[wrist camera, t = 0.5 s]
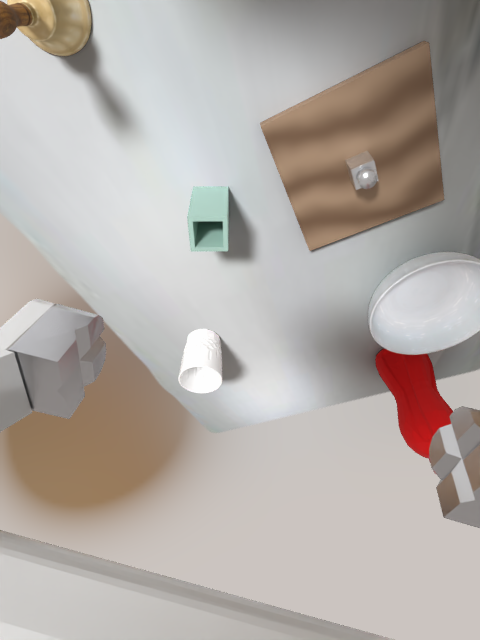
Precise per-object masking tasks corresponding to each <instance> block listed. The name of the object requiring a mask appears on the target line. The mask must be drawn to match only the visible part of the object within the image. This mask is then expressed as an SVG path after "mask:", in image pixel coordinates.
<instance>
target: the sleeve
mask: <svg viewBox="0 0 480 640" xmlns="http://www.w3.org/2000/svg"><path fill="white" fill-rule="evenodd" d="M187 219H188V229H189V238H190V248H191V251H228V238H229V194H228V187H193V191H192V196H191V201H190V206H189V211H188V216H187Z"/></svg>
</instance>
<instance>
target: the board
mask: <svg viewBox="0 0 480 640" xmlns="http://www.w3.org/2000/svg"><path fill="white" fill-rule="evenodd" d="M260 125H261V128H262V131H263V133H264V136H265V139H266V141H267V144H268V146H269V149H270V151H271V154H272V156H273V159H274V161H275V164H276V167H277V169H278V172H279V174H280V177H281V179H282V182H283V184H284V187H285V189H286V192H287V194H288V197H289V200H290V202H291V205H292V207H293V210H294V212H295V215H296V217H297V220H298V222H299V225H300V228H301V230H302V233H303V235H304V238H305V240H306V243H307V245H308V248H309V250H310V251H311V250H314V249H316V248H319V247H322V246H324V245H327V244H330V243H332V242H335V241H337V240H340V239H343V238H345V237H348V236H351V235H353V234H356V233H358V232H361V231H364V230H366V229H369V228H372V227H374V226H377V225H379V224H382V223H385V222H387V221H390V220H393V219H395V218H398V217H400V216H403V215H406V214H408V213H411V212H414V211H416V210H419V209H421V208H424V207H427V206H429V205H432V204H435V203H437V202H440V201H442V200H444V193H443V182H442V172H441V161H440V151H439V140H438V130H437V119H436V109H435V99H434V88H433V78H432V67H431V57H430V46H429V42H426V41H423V42H421V43H419V44H417V45H415V46H413V47H411V48H409V49H407V50H405V51H403V52H401V53H399V54H397V55H395V56H393V57H391V58H389V59H387V60H385V61H383V62H381V63H379V64H377V65H375V66H373V67H371V68H369V69H367V70H365V71H363V72H361V73H359V74H357V75H355V76H353V77H351V78H349V79H347V80H345V81H343V82H341V83H339V84H337V85H335V86H333V87H331V88H329V89H327V90H325V91H323V92H321V93H319V94H317V95H315V96H313V97H311V98H309V99H307V100H305V101H303V102H301V103H299V104H297V105H295V106H293V107H291V108H289V109H287V110H285V111H283V112H281V113H279V114H277V115H275V116H273V117H271V118H269V119H267V120H265V121H263V122H261V123H260ZM365 151H368V152H369V154H370V155H371V156H372V158H373V159H374V161H375V166H376V171H377V175H378V180H379V181H377V182H376V184H375V185H374V186H373V187H372V188H370V189H363V188H360V189H358V190H356V189H355V187H354V185H353V183H352V182H351V180H350V176H349V172H348V168H347V165H346V161H345V160H347V159H349V158H352V157H354V156H356V155H358V154H361V153H363V152H365Z"/></svg>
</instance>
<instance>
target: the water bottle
mask: <svg viewBox="0 0 480 640" xmlns="http://www.w3.org/2000/svg"><path fill="white" fill-rule="evenodd" d="M375 361H376V367H377V370H378V372H379V375H380V377H381V378H382V379H383V381H384V382H385V384H386V385H387V387H388V388H389V390H390V391H391V392H392V394H393V395H394V397H395V400H396V403H397V410H398V421H399V428H400V431H401V434H402V436H403V438H404V439H405V441H406V443H407V445H408V446H409V447H410V448H412V449H413V450H414V451H415V452H416V453H418V454H419V455H421V456H423V457H425V458H429V447H430V444H431V440H432V437H433V436H434V434H435V433H436V432H437V430H438V429H439V428H441V427H444V426H446V425H449V424H451V421H450V415H451V414H452V413H453V411H452V409H451V408H450V407H449V406H448V404H447V403H446V402H445V401H444V400H443V398H442V397H441V396H440V394H439V392H438V390H437V386H436V381H435V376H434V371H433V366H432V363H431V361H430V358H429V356H428V355H427V354H418V355H407V354H399V353H395V352H391V351H389V350H387V349H383V350H381V351H380V352H379V353H378V354H377V355H376V359H375ZM429 461H430V458H429Z"/></svg>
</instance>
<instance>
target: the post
mask: <svg viewBox="0 0 480 640" xmlns="http://www.w3.org/2000/svg"><path fill="white" fill-rule="evenodd" d="M345 161H346V165H347V168H348V172H349V176H350V180H351V182H352V183H353V185H354V187H355V189H356V190H358V189H360V188H363V189H370V188H372V187H373V186H374V185H375V184H376V182H377V181H379V180H378V175H377V171H376V166H375V161H374V159H373V158H372V156H371V155H370V154H369V152H368V151H365V152H363V153H361V154H358V155H356V156H354V157H352V158H349V159H347V160H345Z"/></svg>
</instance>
